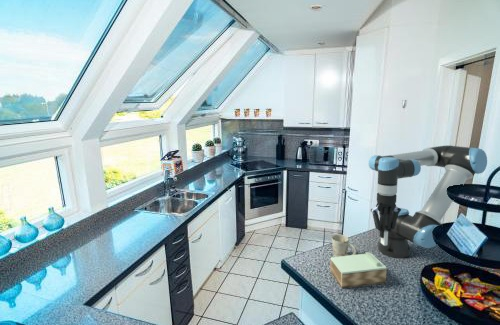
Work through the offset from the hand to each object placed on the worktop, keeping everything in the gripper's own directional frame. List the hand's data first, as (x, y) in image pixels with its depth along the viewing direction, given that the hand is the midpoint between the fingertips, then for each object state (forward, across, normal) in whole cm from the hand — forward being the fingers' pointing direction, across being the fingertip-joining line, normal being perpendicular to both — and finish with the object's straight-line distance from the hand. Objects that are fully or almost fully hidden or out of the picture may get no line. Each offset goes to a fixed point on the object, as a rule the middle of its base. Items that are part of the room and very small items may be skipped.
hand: (383, 243), depth 118 cm
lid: (+9, +12, 0) cm, 15 cm away
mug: (+15, +10, -17) cm, 25 cm away
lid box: (+15, +12, 0) cm, 19 cm away
